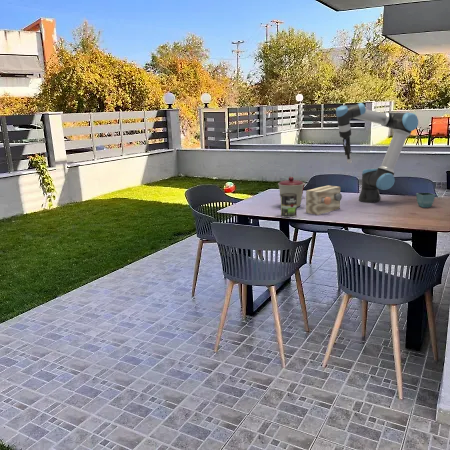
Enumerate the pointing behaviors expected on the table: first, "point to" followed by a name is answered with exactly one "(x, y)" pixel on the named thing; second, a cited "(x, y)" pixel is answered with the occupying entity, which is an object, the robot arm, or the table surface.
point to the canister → (292, 188)
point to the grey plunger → (338, 197)
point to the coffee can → (288, 205)
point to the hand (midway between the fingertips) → (349, 162)
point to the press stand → (315, 197)
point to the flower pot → (425, 199)
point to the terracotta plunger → (326, 200)
